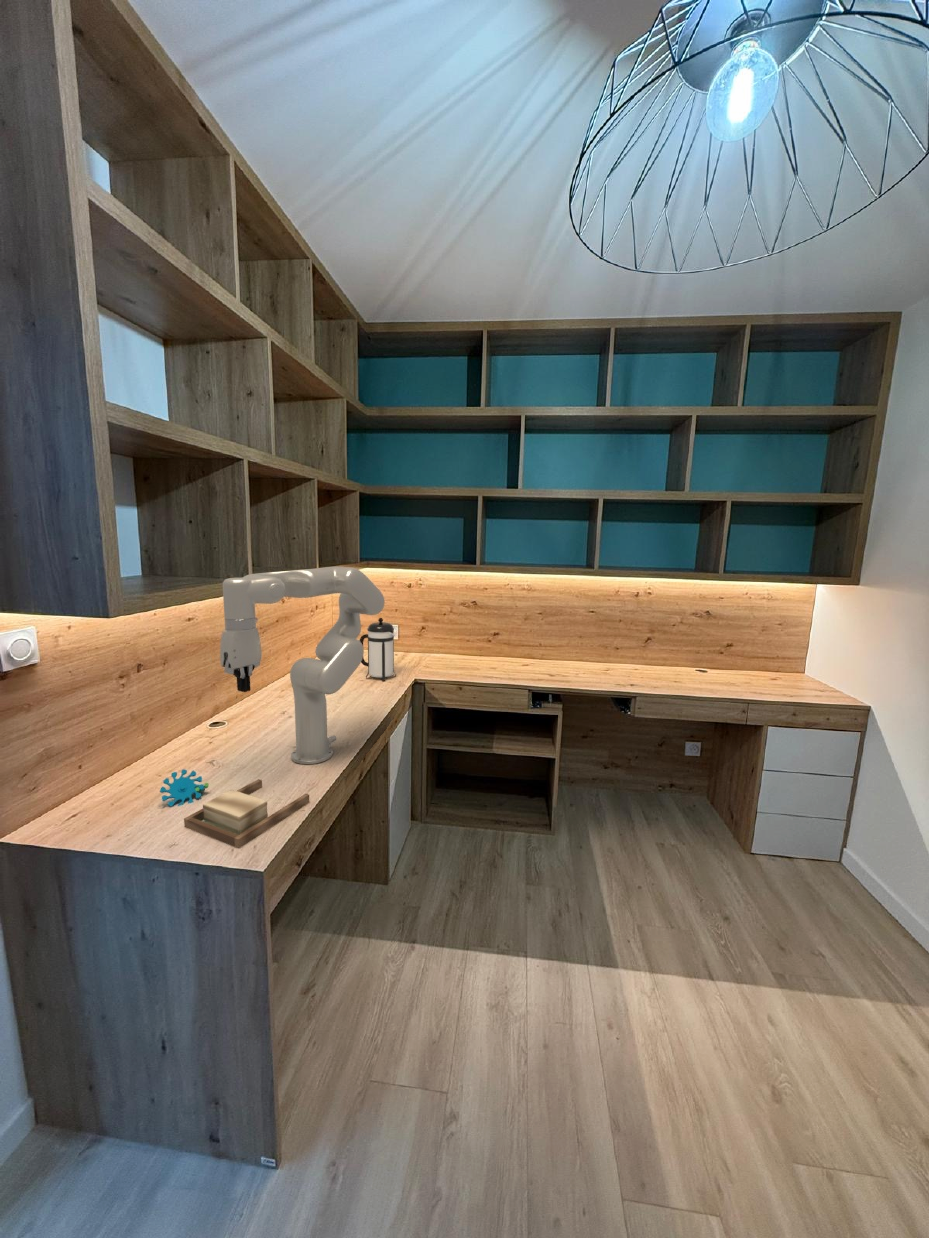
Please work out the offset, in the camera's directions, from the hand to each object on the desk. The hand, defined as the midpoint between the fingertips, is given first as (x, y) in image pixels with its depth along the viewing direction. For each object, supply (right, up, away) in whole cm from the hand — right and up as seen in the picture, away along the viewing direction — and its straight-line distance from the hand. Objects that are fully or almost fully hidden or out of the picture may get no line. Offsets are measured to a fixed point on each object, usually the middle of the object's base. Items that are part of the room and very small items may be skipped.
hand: (244, 690), depth 137 cm
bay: (+7, -30, -12) cm, 33 cm away
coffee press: (+17, -10, +112) cm, 114 cm away
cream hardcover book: (+5, -29, -16) cm, 34 cm away
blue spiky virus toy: (-13, -28, -5) cm, 32 cm away
